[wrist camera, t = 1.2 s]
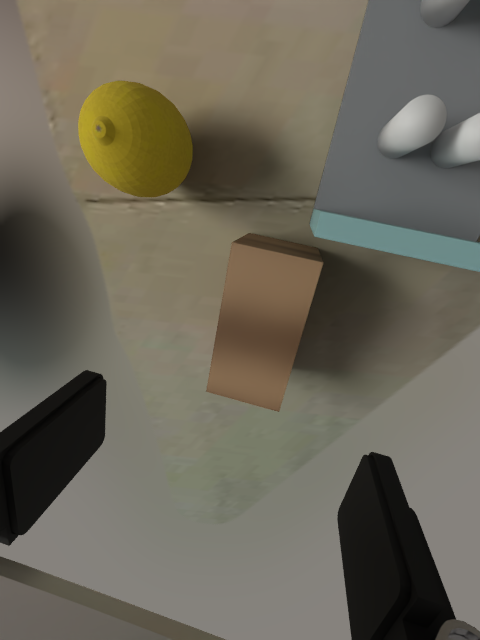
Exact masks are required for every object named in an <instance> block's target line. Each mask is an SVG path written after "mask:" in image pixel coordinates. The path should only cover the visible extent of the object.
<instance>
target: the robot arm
mask: <svg viewBox="0 0 480 640" xmlns="http://www.w3.org/2000/svg"><path fill="white" fill-rule="evenodd" d="M105 411H106V380H104V379H103V376H102V375H101V374H98V373H95V372H91V371H88V370H86V371H83V372H82V373H81V374H79V375H78V376H76V377H75V378H74V379H72V380H71V381H70V382H68V383H67V384H66V385H64V386H63V387H61V388H60V389H59V390H58V391H56V392H55V393H53V394H52V395H51V396H49V397H48V398H46V399H45V400H44V401H42V402H41V403H40V404H38V405H37V406H36V407H34V408H33V409H32V410H30V411H29V412H27V413H26V414H25V415H23V416H22V417H21V418H19V419H18V420H17V421H15V422H14V423H12V424H11V425H10V426H8V427H7V428H6V429H4V430H3V431H2V432H0V543H3V544H6V545H11V543H12V542H13V541H14V540H15V539H16V538H17V537H18V535H23V534H25V533H26V532H27V531H28V530H29V529H30V528H31V527H32V526H33V524H34V523H35V522H36V521H37V520H38V518H39V517H40V516H41V515H42V514H43V513H44V511H45V510H46V509H47V508H48V507H49V506H50V504H51V503H52V502H53V501H54V500H55V499H56V497H57V496H58V495H59V494H60V493H61V492H62V490H63V489H64V488H65V487H66V486H67V485H68V483H69V482H70V481H71V480H72V479H73V478H74V476H75V475H76V474H77V473H78V472H79V470H80V469H81V468H82V467H83V466H84V465H85V463H86V462H87V461H88V460H89V459H90V457H92V455H93V454H94V453H95V452H96V451H97V450H98V448H99V447H100V446H101V445H102V443H103V441H104V437H105V414H106V413H105ZM338 528H339V536H340V545H341V553H342V561H343V569H344V578H345V587H346V595H347V604H348V612H349V620H350V629H351V637H352V640H480V631H478V630H477V629H476V628H475V627H473V626H471V625H469V624H467V623H466V622H464V621H460V620H456V618H455V615H454V612H453V610H452V607H451V605H450V602H449V599H448V597H447V594H446V591H445V589H444V586H443V583H442V581H441V578H440V576H439V573H438V570H437V568H436V565H435V562H434V560H433V557H432V555H431V552H430V549H429V547H428V544H427V541H426V539H425V537H424V534H423V531H422V528H421V526H420V523H419V520H418V518H417V516H416V514H415V512H414V511H413V510H412V508H409V505H408V503H407V500H406V497H405V495H404V492H403V489H402V486H401V484H400V481H399V478H398V475H397V473H396V470H395V467H394V465H393V462H392V459H391V458H390V457H388V456H384V455H381V454H378V453H374V452H371V453H370V454H369V455H364V456H363V457H362V459H361V462H360V464H359V466H358V468H357V470H356V472H355V475H354V477H353V479H352V481H351V483H350V486H349V488H348V490H347V492H346V494H345V497H344V499H343V501H342V503H341V505H340V508H339V511H338ZM0 640H225V639H223V638H220V637H217V636H215V635H212V634H209V633H207V632H204V631H202V630H199V629H196V628H194V627H191V626H188V625H185V624H183V623H180V622H177V621H175V620H172V619H169V618H167V617H164V616H161V615H159V614H156V613H153V612H150V611H148V610H145V609H143V608H140V607H137V606H135V605H132V604H129V603H127V602H124V601H121V600H119V599H116V598H113V597H111V596H108V595H105V594H102V593H100V592H97V591H94V590H92V589H89V588H86V587H83V586H80V585H78V584H75V583H72V582H70V581H67V580H64V579H61V578H59V577H56V576H53V575H51V574H48V573H45V572H42V571H40V570H37V569H34V568H32V567H29V566H26V565H23V564H21V563H17V562H15V561H12V560H9V559H6V558H3V557H0Z"/></svg>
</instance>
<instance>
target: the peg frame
mask: <svg viewBox="0 0 480 640" xmlns="http://www.w3.org/2000/svg"><path fill="white" fill-rule="evenodd" d="M309 224H310V227H311V229H312V232H313V234H314V237H319V238H323V239H328V240H333V241H337V242H342V243H347V244H352V245H356V246H361V247H366V248H370V249H375V250H380V251H384V252H389V253H394V254H398V255H403V256H408V257H412V258H417V259H422V260H427V261H431V262H436V263H441V264H445V265H450V266H455V267H459V268H464V269H469V270H473V271H478V272H480V242H477V240H478V238H479V236H480V0H369V1H368V5H367V9H366V13H365V16H364V20H363V24H362V28H361V31H360V35H359V39H358V43H357V46H356V50H355V54H354V58H353V62H352V65H351V69H350V73H349V77H348V80H347V84H346V88H345V92H344V95H343V99H342V103H341V107H340V111H339V114H338V118H337V122H336V126H335V129H334V133H333V137H332V141H331V144H330V148H329V152H328V156H327V159H326V163H325V167H324V171H323V175H322V178H321V182H320V186H319V190H318V193H317V197H316V201H315V205H314V208H313V212H312V216H311V220H310V223H309Z"/></svg>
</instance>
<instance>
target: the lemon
mask: <svg viewBox="0 0 480 640" xmlns="http://www.w3.org/2000/svg"><path fill="white" fill-rule="evenodd" d="M78 129H79V138H80V143H81V147H82V149H83V152H84V154H85V157H86V159H87V160H88V162H89V163H90V165H91V167H92V168H93V170H94V171H95V172H96V173H97V174H98V175H99V176H100V177H101V178H102V179H103V180H104V181H106V182H107V183H109V184H110V185H112V186H113V187H115V188H117V189H118V190H120V191H122V192H125V193H128V194H131V195H134V196H138V197H157V196H161V195H164V194H167V193H169V192H171V191H172V190H174V189H176V188H177V187H178V186H179V185H180V184H181V183H182V182H183V181H184V179H185V178H186V176H187V174H188V172H189V170H190V166H191V162H192V158H193V145H192V140H191V134H190V131H189V129H188V127H187V124H186V122H185V120H184V118H183V116H182V115H181V114H180V112H179V111H178V109H177V108H176V107H175V105H174V104H173V103H172V102H170V101H169V100H168V99H167V98H166V97H164V96H163V95H162V94H161V93H159V92H158V91H156V90H154V89H152V88H149V87H147V86H145V85H143V84H140V83H136V82H128V81H115V82H110V83H106V84H103V85H102V86H100V87H98V88H97V89H95V90H94V91H93V92H92V93H91V94H90V95H89V96H88V98H87V99H86V100H85V102H84V104H83V106H82V109H81V112H80V117H79V121H78Z"/></svg>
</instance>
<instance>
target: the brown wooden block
mask: <svg viewBox="0 0 480 640" xmlns="http://www.w3.org/2000/svg"><path fill="white" fill-rule="evenodd" d="M322 266H323V260H322V258H321V255H320V252H319V250H318V248H316V247H311V246H306V245H302V244H297V243H293V242H288V241H283V240H279V239H274V238H270V237H265V236H260V235H256V234H251V233H248V234H247V235H245V236H243V237H241V238H239V239H237V240H235V241H234V242H232V245H231V251H230V257H229V263H228V268H227V274H226V280H225V286H224V292H223V297H222V303H221V309H220V315H219V321H218V326H217V332H216V338H215V344H214V350H213V355H212V361H211V367H210V373H209V379H208V384H207V390H206V392H210V393H213V394H217V395H220V396H224V397H228V398H231V399H235V400H238V401H242V402H245V403H249V404H253V405H256V406H260V407H263V408H267V409H271V410H274V411H278V412H279V410H280V407H281V403H282V400H283V397H284V393H285V390H286V386H287V383H288V380H289V376H290V373H291V370H292V366H293V363H294V360H295V356H296V353H297V350H298V346H299V343H300V339H301V336H302V333H303V329H304V326H305V323H306V319H307V316H308V313H309V309H310V306H311V302H312V299H313V296H314V292H315V289H316V286H317V282H318V279H319V276H320V272H321V269H322Z"/></svg>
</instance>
